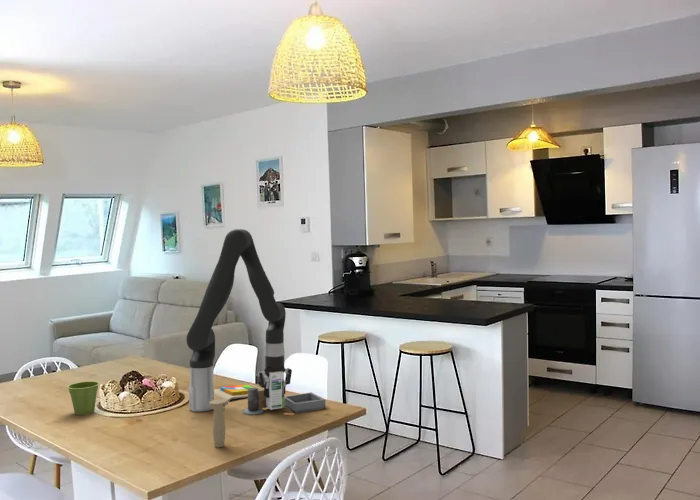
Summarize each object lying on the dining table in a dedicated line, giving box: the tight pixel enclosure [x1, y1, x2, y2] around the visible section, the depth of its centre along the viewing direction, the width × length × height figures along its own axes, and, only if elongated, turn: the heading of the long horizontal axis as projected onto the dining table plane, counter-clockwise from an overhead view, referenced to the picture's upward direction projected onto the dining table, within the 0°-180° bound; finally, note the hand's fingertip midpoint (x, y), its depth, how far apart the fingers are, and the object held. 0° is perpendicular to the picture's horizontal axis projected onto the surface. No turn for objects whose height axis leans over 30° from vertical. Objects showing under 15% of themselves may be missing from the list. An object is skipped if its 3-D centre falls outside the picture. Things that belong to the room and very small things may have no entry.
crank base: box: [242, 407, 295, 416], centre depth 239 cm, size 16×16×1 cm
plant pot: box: [66, 380, 101, 416], centre depth 242 cm, size 12×12×11 cm
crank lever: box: [247, 388, 268, 411], centre depth 244 cm, size 14×4×8 cm, turn 123°
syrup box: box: [265, 371, 285, 411], centre depth 241 cm, size 6×6×14 cm
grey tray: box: [284, 391, 326, 414], centre depth 247 cm, size 13×13×4 cm
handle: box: [209, 398, 229, 448], centre depth 202 cm, size 5×6×15 cm
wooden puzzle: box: [214, 383, 264, 402], centre depth 268 cm, size 18×19×4 cm
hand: (274, 396), depth 241 cm, fingers closed on syrup box, 5 cm apart
